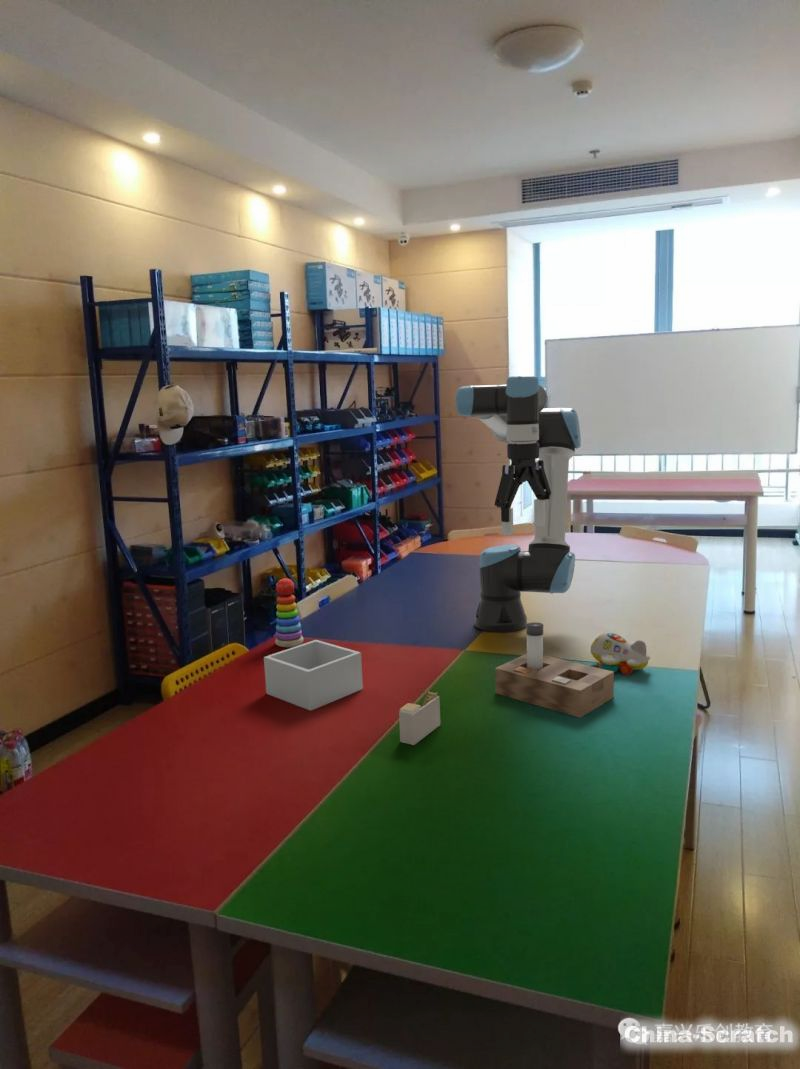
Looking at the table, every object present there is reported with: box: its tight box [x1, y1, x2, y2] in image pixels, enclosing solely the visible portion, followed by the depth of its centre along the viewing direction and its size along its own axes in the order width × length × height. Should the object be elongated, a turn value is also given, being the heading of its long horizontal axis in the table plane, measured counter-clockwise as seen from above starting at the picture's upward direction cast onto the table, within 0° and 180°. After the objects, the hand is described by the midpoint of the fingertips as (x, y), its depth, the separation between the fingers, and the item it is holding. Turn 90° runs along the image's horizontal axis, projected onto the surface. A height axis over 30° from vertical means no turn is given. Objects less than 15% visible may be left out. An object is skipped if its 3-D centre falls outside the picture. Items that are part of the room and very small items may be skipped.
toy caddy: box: [263, 639, 364, 711], centre depth 184 cm, size 16×16×9 cm
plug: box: [525, 621, 544, 671], centre depth 179 cm, size 4×4×14 cm
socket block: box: [494, 653, 615, 719], centre depth 177 cm, size 22×14×6 cm, turn 47°
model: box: [398, 689, 441, 746], centre depth 160 cm, size 3×11×8 cm, turn 148°
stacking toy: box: [274, 577, 305, 648], centre depth 219 cm, size 8×8×19 cm
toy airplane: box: [590, 632, 651, 676], centre depth 192 cm, size 13×9×15 cm
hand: (524, 530), depth 190 cm, fingers open, 13 cm apart
